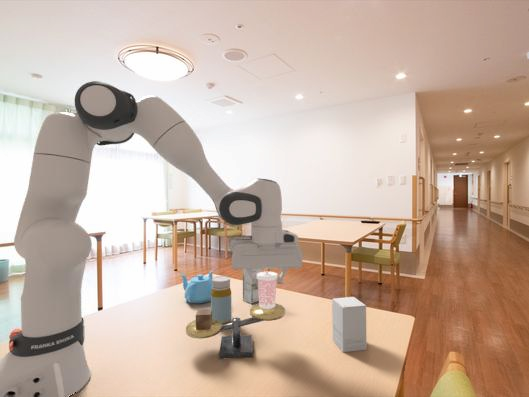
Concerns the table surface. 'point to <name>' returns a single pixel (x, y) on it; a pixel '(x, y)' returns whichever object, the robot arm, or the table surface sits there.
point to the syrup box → (250, 287)
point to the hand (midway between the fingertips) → (267, 283)
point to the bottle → (221, 299)
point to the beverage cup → (267, 289)
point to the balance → (236, 331)
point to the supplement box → (349, 324)
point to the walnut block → (203, 319)
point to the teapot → (198, 288)
